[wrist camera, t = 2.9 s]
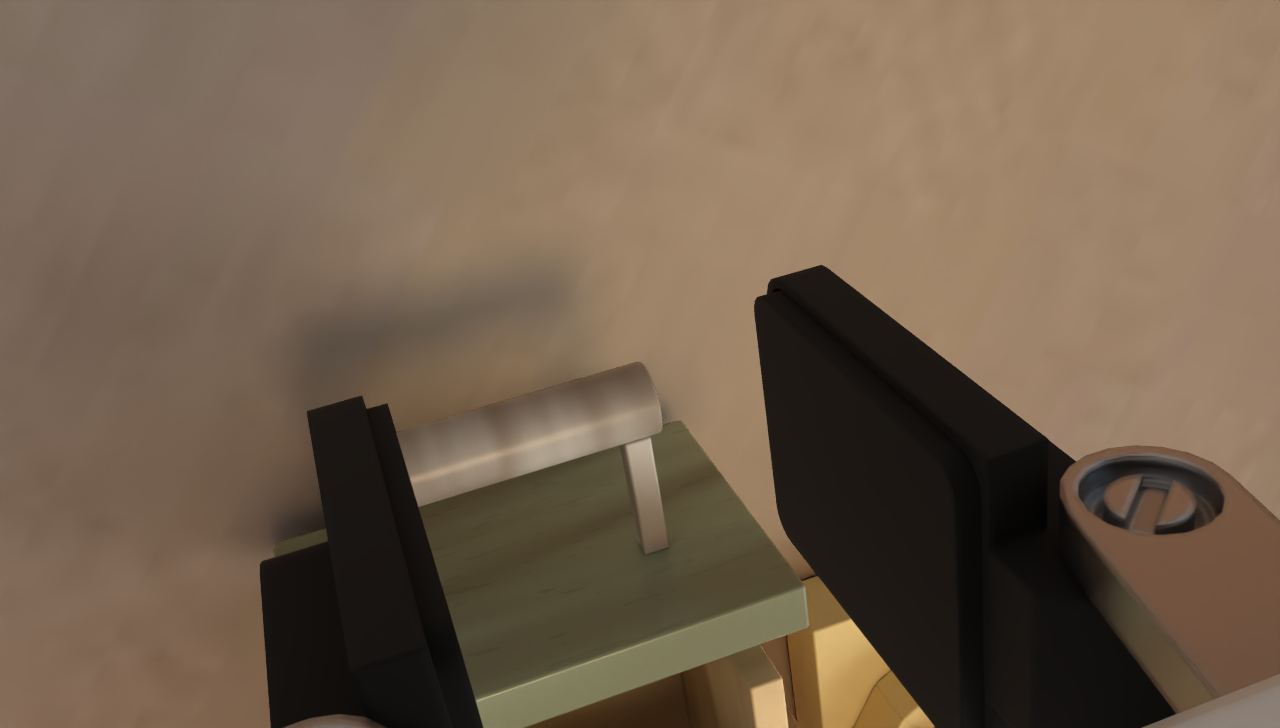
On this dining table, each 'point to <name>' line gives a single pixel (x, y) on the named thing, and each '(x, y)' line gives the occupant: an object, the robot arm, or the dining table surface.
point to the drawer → (599, 563)
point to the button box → (844, 673)
